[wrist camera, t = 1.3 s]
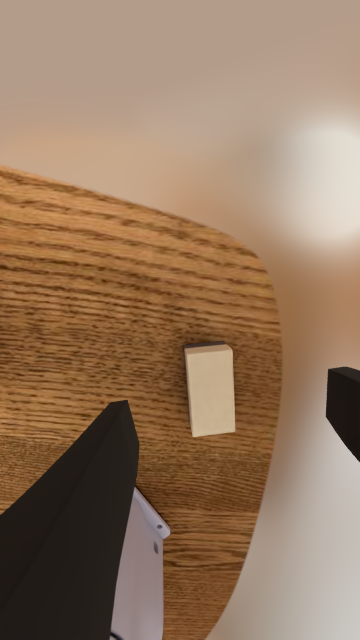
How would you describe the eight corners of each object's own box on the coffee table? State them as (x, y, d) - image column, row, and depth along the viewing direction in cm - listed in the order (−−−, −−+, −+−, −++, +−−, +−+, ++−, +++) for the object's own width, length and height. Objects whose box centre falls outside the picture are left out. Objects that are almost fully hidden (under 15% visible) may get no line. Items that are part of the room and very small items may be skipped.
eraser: (226, 413, 21) (235, 431, 18) (189, 418, 21) (192, 437, 18) (223, 340, 19) (232, 349, 17) (183, 344, 19) (186, 354, 17)
